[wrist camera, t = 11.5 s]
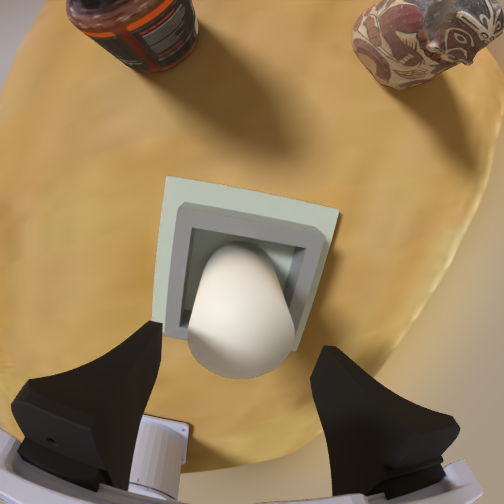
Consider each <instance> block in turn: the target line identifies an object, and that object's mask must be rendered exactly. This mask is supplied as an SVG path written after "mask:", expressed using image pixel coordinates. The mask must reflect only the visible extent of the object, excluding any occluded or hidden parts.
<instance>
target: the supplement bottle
mask: <svg viewBox="0 0 504 504" xmlns="http://www.w3.org/2000/svg"><path fill="white" fill-rule="evenodd" d="M66 11H67V16H68V18H69V20H70V21H71V22H72V23H73V24H74V25H75V26H76V27H77V28H78V29H79V30H80V31H82V32H83V33H84V34H86V35H87V36H88V37H90V38H91V39H92V40H94V41H95V42H97V43H98V44H99V45H100V46H102V47H103V48H104V49H106V50H107V51H108V52H110V53H111V54H112V55H114V56H115V57H116V58H117V59H119V60H120V61H121V62H123V63H124V64H125V65H126V66H128V67H130V68H132V69H133V70H136V71H139V72H144V73H153V72H160V71H164V70H167V69H170V68H172V67H173V66H175V65H177V64H178V63H180V62H181V61H183V60H184V59H185V58H186V57H187V56H188V55H189V54H190V53H191V51H192V50H193V48H194V47H195V45H196V43H197V40H198V35H199V27H198V21H197V18H196V15H195V11H194V7H193V5H192V1H191V0H67V2H66Z"/></svg>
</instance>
